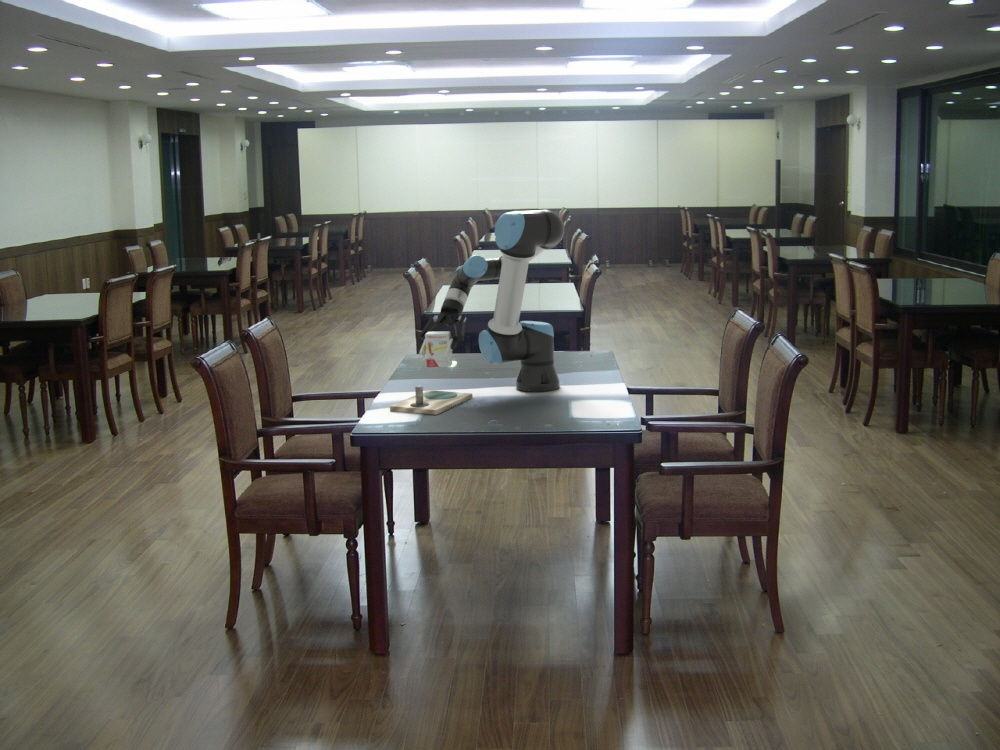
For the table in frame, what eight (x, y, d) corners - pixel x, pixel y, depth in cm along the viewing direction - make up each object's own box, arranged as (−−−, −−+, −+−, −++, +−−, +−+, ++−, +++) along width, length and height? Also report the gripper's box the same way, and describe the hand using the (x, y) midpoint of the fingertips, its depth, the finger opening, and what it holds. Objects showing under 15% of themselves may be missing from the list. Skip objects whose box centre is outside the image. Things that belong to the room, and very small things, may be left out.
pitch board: (472, 397, 354) (471, 375, 352) (436, 414, 332) (435, 391, 330) (428, 394, 361) (427, 372, 360) (390, 410, 339) (388, 387, 338)
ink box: (426, 367, 364) (424, 333, 362) (428, 364, 369) (426, 331, 367) (450, 366, 363) (448, 333, 361) (452, 364, 368) (450, 330, 366)
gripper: (485, 311, 372) (466, 363, 360) (431, 310, 381) (411, 360, 370) (477, 298, 366) (458, 350, 355) (422, 297, 376) (402, 348, 365)
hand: (434, 355), depth 363 cm, fingers closed on ink box, 9 cm apart
